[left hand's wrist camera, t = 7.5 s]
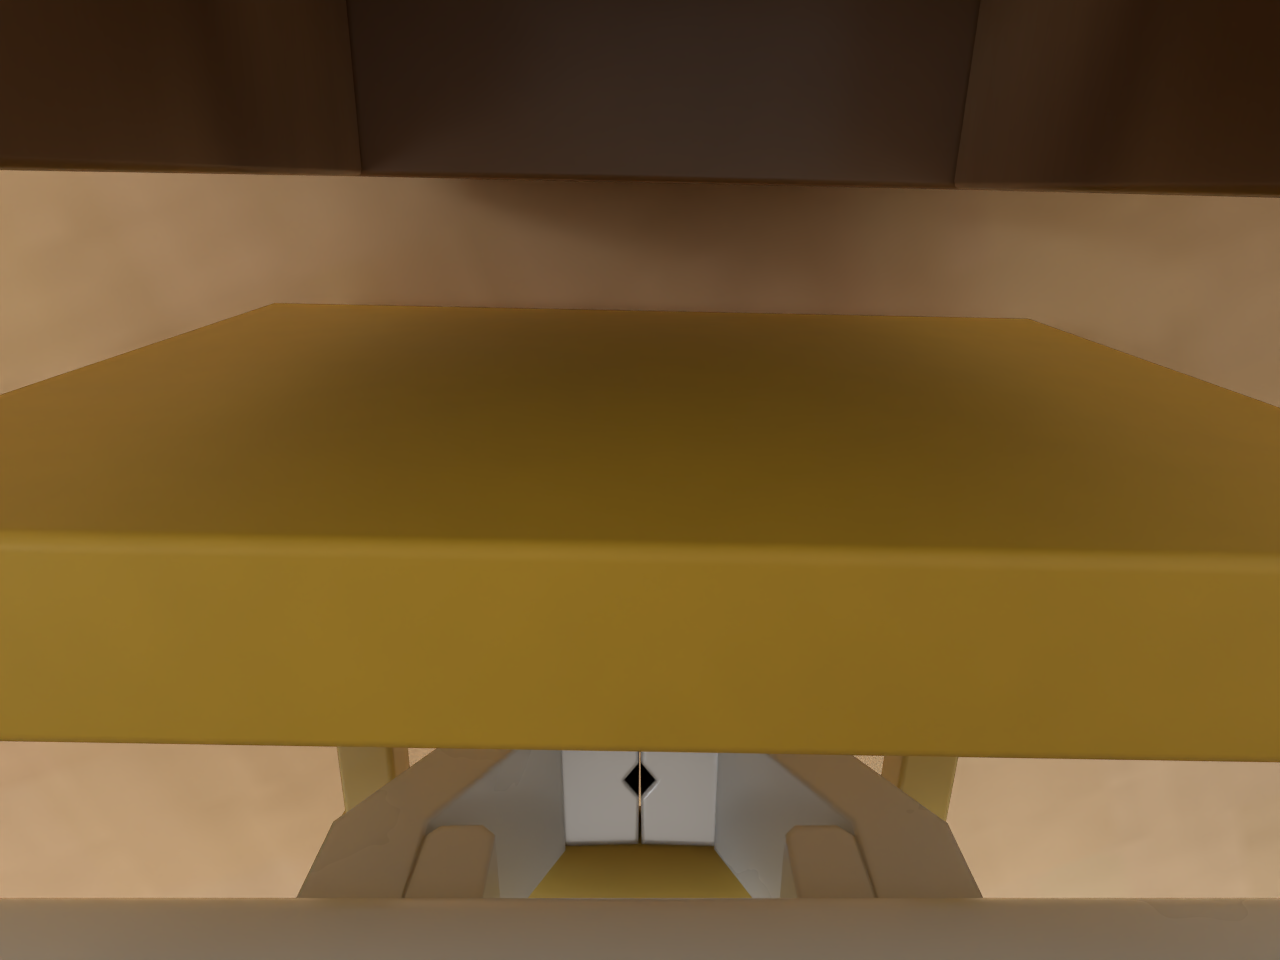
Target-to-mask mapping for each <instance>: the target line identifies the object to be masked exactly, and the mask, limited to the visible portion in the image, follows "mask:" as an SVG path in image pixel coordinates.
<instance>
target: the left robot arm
mask: <svg viewBox="0 0 1280 960" xmlns="http://www.w3.org/2000/svg"><path fill="white" fill-rule="evenodd" d="M638 815H639V752H635V751H575V750H515V749H455V748H436V749H435V750H434V751H432V752H431V753H429V754H428V755H427V756H425V757H424V758H422V759H421V760H420V761H418V762H417V763H415V764H414V765H413V766H411V767H410V768H408V769H407V770H406V771H404V772H403V773H401V774H400V775H399V776H397V777H396V778H394V779H393V780H391V781H390V782H389V783H387V784H386V785H384V786H383V787H382V788H380V789H379V790H377V791H376V792H375V793H373V794H372V795H370V796H369V797H368V798H366V799H365V800H363V801H362V802H361V803H359V804H358V805H356V806H355V807H354V808H352V809H351V810H349V811H348V812H346V813H345V814H344V815H342V816H341V817H339V818H338V819H337V820H335V821H334V822H333V824H332V826H331V828H330V830H329V832H328V834H327V836H326V838H325V840H324V842H323V844H322V846H321V848H320V850H319V852H318V855H317V857H316V859H315V861H314V863H313V865H312V867H311V869H310V871H309V873H308V875H307V877H306V879H305V881H304V883H303V885H302V887H301V890H300V892H299V894H298V896H297V898H0V960H1280V898H983V897H982V895H981V892H980V890H979V888H978V886H977V884H976V882H975V880H974V878H973V876H972V874H971V872H970V870H969V867H968V865H967V863H966V861H965V859H964V857H963V855H962V853H961V851H960V849H959V847H958V844H957V842H956V840H955V838H954V836H953V834H952V832H951V830H950V828H949V826H948V824H947V823H946V822H945V821H944V820H942V819H941V818H939V817H938V816H937V815H935V814H934V813H933V812H931V811H930V810H928V809H927V808H926V807H924V806H923V805H921V804H920V803H919V802H917V801H916V800H914V799H913V798H912V797H910V796H909V795H907V794H906V793H905V792H903V791H902V790H900V789H899V788H898V787H896V786H895V785H893V784H892V783H891V782H889V781H888V780H886V779H885V778H884V777H882V776H881V775H879V774H878V773H877V772H875V771H874V770H872V769H871V768H870V767H868V766H867V765H865V764H864V763H863V762H861V761H860V760H858V759H857V758H856V757H854V756H853V755H815V754H755V753H695V752H641V832H642V844H660V845H696V846H714V850H715V851H716V852H717V853H718V855H719V856H720V857H721V859H722V860H723V861H724V862H725V864H726V865H727V866H728V868H729V869H730V870H731V871H732V873H733V874H734V875H735V876H736V878H737V879H738V880H739V882H740V883H741V884H742V885H743V887H744V888H745V889H746V890H747V892H748V893H749V894H750V896H751V897H752V898H528V897H529V896H530V895H531V893H532V892H533V891H534V889H535V888H536V887H537V886H538V884H539V883H540V882H541V881H542V879H543V878H544V877H545V875H546V874H547V873H548V872H549V870H550V869H551V868H552V867H553V865H554V864H555V863H556V862H557V860H558V859H559V858H560V856H561V855H562V854H563V853H564V851H565V846H583V845H618V844H638Z"/></svg>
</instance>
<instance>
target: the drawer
mask: <svg viewBox="0 0 1280 960" xmlns="http://www.w3.org/2000/svg"><path fill="white" fill-rule="evenodd" d="M0 170H33V171H91V172H148V173H206V174H263V175H320V176H374V177H420V178H465V179H511V180H557V181H602V182H648V183H693V184H739V185H784V186H830V187H876V188H921V189H965V190H1004V191H1042V192H1081V193H1119V194H1158V195H1196V196H1235V197H1274V198H1280V0H0ZM0 741H35V742H95V743H155V744H215V745H275V746H335V747H337V752H338V759H339V767H340V774H341V782H342V789H343V797H344V805H345V812H344V813H343V815H344V814H345V813H346V812H348V811H349V810H351V809H352V808H354V807H355V806H356V805H358V804H359V803H361V802H362V801H363V800H365V799H366V798H368V797H369V796H370V795H372V794H373V793H375V792H376V791H377V790H379V789H380V788H382V787H383V786H384V785H386V784H387V783H389V782H390V781H391V780H393V779H394V778H396V777H397V776H399V775H400V774H401V773H403V772H404V771H406V770H407V769H408V768H410V766H409V756H408V748H455V749H515V750H575V751H635V752H695V753H755V754H815V755H875V756H884V761H883V768H882V774H881V776H882V777H884V778H885V779H886V780H888V781H889V782H891V783H892V784H893V785H895V786H896V787H898V788H899V789H900V790H902V791H903V792H905V793H906V794H907V795H909V796H910V797H912V798H913V799H914V800H916V801H917V802H919V803H920V804H921V805H923V806H924V807H926V808H927V809H928V810H930V811H931V812H933V813H934V814H935V815H937V816H938V817H939V818H941V819H942V820H944V821H945V822H946V818H947V813H948V807H949V802H950V797H951V792H952V787H953V781H954V776H955V771H956V766H957V760H958V757H995V758H1055V759H1115V760H1174V761H1234V762H1280V408H1279V407H1276V406H1273V405H1270V404H1267V403H1264V402H1262V401H1259V400H1256V399H1253V398H1250V397H1247V396H1245V395H1242V394H1239V393H1236V392H1233V391H1231V390H1228V389H1225V388H1222V387H1219V386H1216V385H1214V384H1211V383H1208V382H1205V381H1202V380H1200V379H1197V378H1194V377H1191V376H1188V375H1185V374H1183V373H1180V372H1177V371H1174V370H1171V369H1168V368H1166V367H1163V366H1160V365H1157V364H1154V363H1152V362H1149V361H1146V360H1143V359H1140V358H1137V357H1135V356H1132V355H1129V354H1126V353H1123V352H1121V351H1118V350H1115V349H1112V348H1109V347H1106V346H1104V345H1101V344H1098V343H1095V342H1092V341H1090V340H1087V339H1084V338H1081V337H1078V336H1075V335H1073V334H1070V333H1067V332H1064V331H1061V330H1058V329H1056V328H1053V327H1050V326H1047V325H1044V324H1042V323H1039V322H1036V321H1033V320H1030V319H1011V318H962V317H914V316H866V315H818V314H770V313H722V312H673V311H625V310H577V309H529V308H481V307H432V306H384V305H336V304H288V303H274V304H271V305H268V306H265V307H262V308H259V309H256V310H253V311H250V312H247V313H244V314H241V315H238V316H235V317H232V318H229V319H226V320H223V321H220V322H217V323H214V324H211V325H208V326H205V327H202V328H199V329H196V330H193V331H190V332H187V333H184V334H181V335H178V336H175V337H172V338H169V339H166V340H163V341H160V342H157V343H154V344H151V345H148V346H145V347H142V348H139V349H136V350H133V351H130V352H127V353H124V354H121V355H118V356H115V357H112V358H109V359H106V360H103V361H100V362H97V363H94V364H91V365H88V366H85V367H82V368H79V369H76V370H73V371H70V372H67V373H64V374H61V375H58V376H55V377H52V378H49V379H46V380H43V381H40V382H37V383H35V384H32V385H29V386H26V387H23V388H20V389H17V390H14V391H11V392H8V393H5V394H2V395H0ZM528 898H752V897H751V896H750V894H749V893H748V892H747V890H746V889H745V888H744V887H743V885H742V884H741V883H740V882H739V880H738V879H737V878H736V876H735V875H734V874H733V873H732V871H731V870H730V869H729V868H728V866H727V865H726V864H725V862H724V861H723V860H722V859H721V857H720V856H719V855H718V853H717V852H716V851H715V850H714V846H696V845H660V844H642V832H641V806H639V815H638V844H618V845H583V846H565V851H564V853H563V854H562V855H561V856H560V858H559V859H558V860H557V862H556V863H555V864H554V865H553V867H552V868H551V869H550V870H549V872H548V873H547V874H546V875H545V877H544V878H543V879H542V881H541V882H540V883H539V884H538V886H537V887H536V888H535V889H534V891H533V892H532V893H531V895H530V896H529V897H528Z"/></svg>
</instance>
